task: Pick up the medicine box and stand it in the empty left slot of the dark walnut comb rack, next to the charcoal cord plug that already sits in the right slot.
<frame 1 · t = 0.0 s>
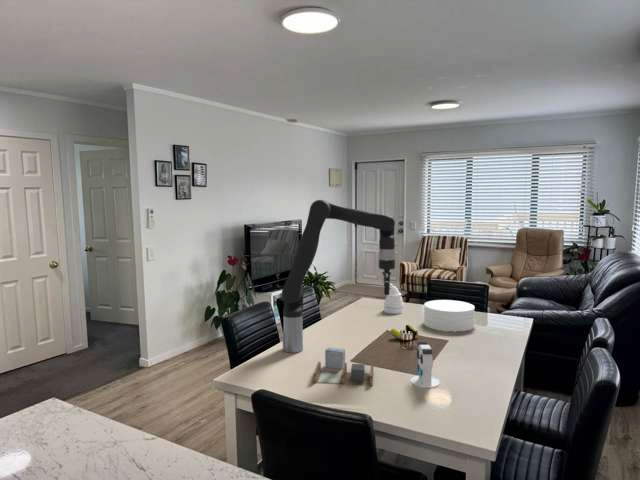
hand: (386, 292, 202), 29 cm above the table, tool pointing down, fingers open, 8 cm apart
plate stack: (448, 325, 251), on the table
cord plug: (357, 378, 173), point 1 cm above the table, touching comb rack
medicine box: (335, 369, 187), on the table
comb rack: (344, 380, 174), on the table
panda figurine: (424, 382, 172), on the table
honey pot: (393, 311, 282), on the table
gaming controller: (405, 338, 227), on the table
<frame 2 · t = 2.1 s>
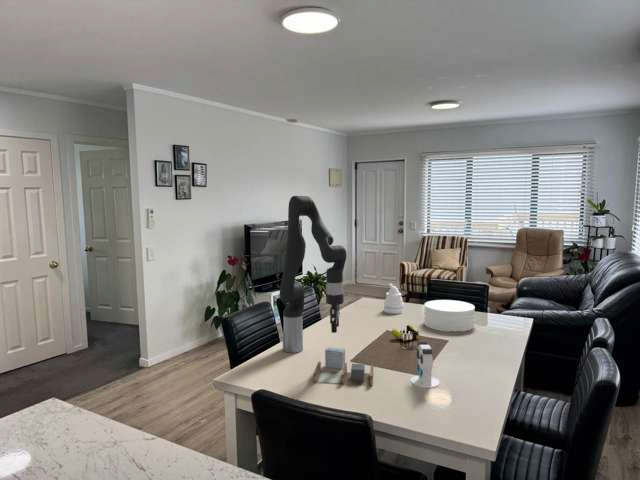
hand: (335, 329, 185), 17 cm above the table, tool pointing down, fingers open, 8 cm apart
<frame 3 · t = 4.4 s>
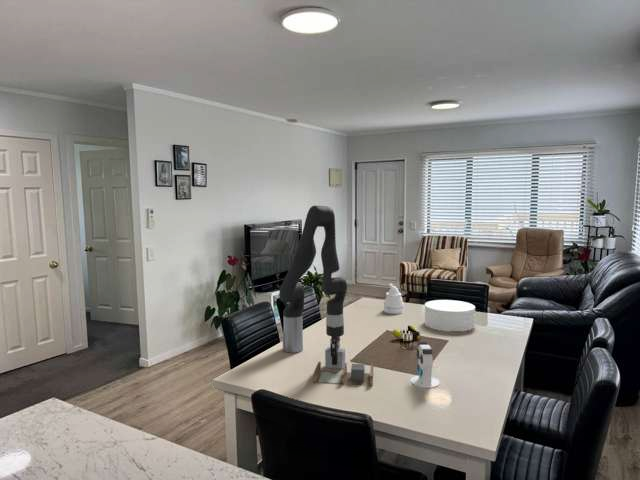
hand: (335, 362, 186), 3 cm above the table, tool pointing down, fingers closed on medicine box, 5 cm apart
medicine box: (335, 369, 187), on the table, touching gripper
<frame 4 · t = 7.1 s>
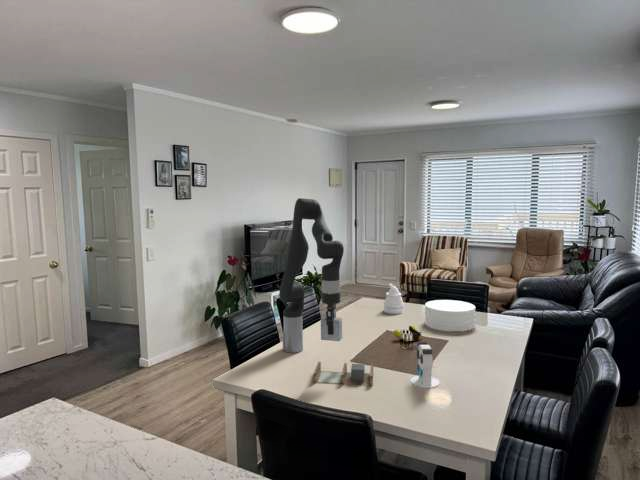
hand: (331, 332, 173), 20 cm above the table, tool pointing down, fingers closed on medicine box, 5 cm apart
medicine box: (331, 339, 174), point 17 cm above the table, touching gripper
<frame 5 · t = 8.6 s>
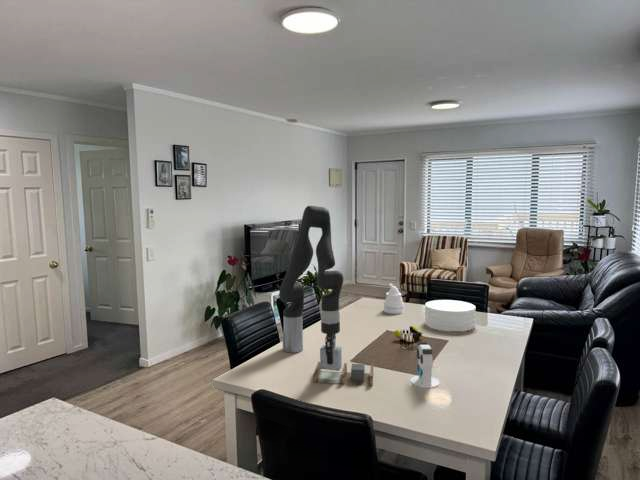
hand: (330, 361, 174), 8 cm above the table, tool pointing down, fingers closed on medicine box, 5 cm apart
medicine box: (331, 368, 175), point 5 cm above the table, touching gripper
when the fingers open (5 cm above the table, at t = 9.9 s): medicine box stays where it is, resting on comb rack.
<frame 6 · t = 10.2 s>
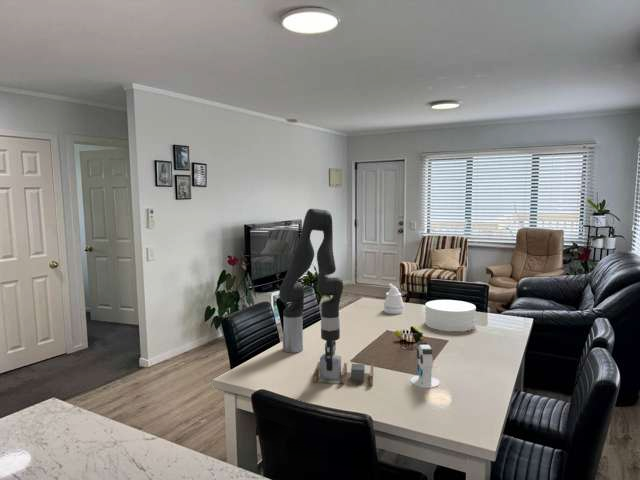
hand: (330, 366, 174), 5 cm above the table, tool pointing down, fingers open, 7 cm apart
medicine box: (330, 377, 175), point 1 cm above the table, touching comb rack
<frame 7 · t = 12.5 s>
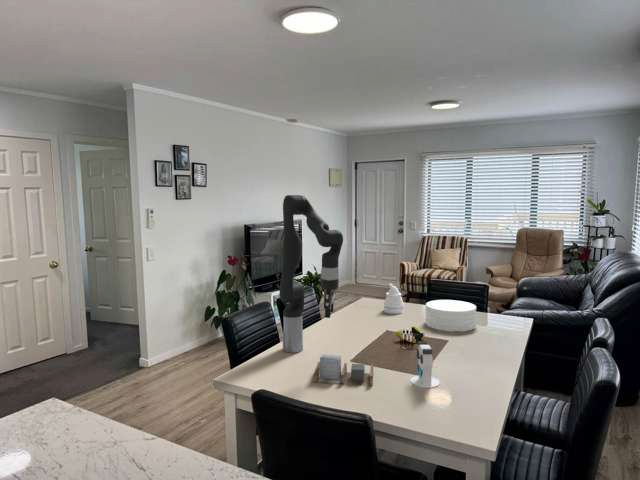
hand: (329, 314, 183), 24 cm above the table, tool pointing down, fingers open, 8 cm apart
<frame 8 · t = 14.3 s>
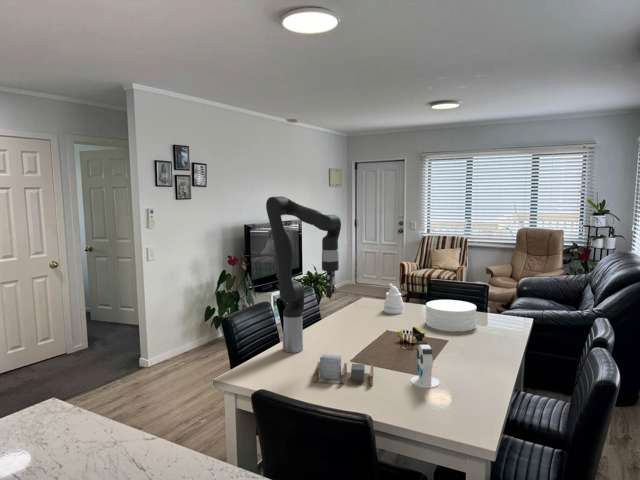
hand: (330, 295, 193), 30 cm above the table, tool pointing down, fingers open, 8 cm apart
at the end: medicine box inside the target area on the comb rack (0.1 cm from its centre), point 0.9 cm above the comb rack's base; medicine box tilted 0°; the gripper is holding nothing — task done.
